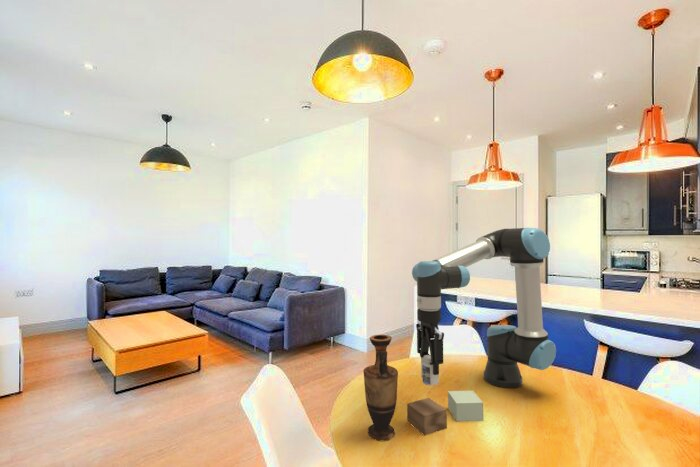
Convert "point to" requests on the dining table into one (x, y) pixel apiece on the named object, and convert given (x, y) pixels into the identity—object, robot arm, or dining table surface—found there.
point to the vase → (381, 390)
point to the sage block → (465, 406)
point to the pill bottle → (426, 370)
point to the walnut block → (427, 416)
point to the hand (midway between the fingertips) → (429, 380)
